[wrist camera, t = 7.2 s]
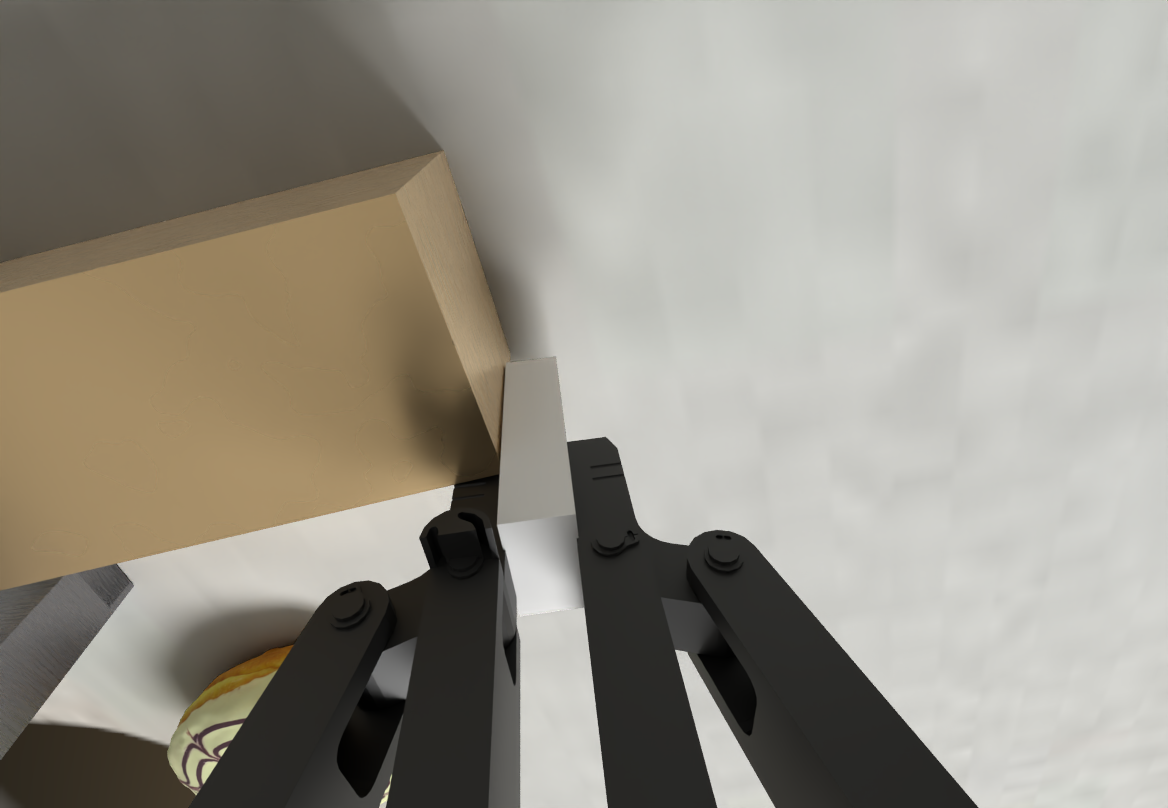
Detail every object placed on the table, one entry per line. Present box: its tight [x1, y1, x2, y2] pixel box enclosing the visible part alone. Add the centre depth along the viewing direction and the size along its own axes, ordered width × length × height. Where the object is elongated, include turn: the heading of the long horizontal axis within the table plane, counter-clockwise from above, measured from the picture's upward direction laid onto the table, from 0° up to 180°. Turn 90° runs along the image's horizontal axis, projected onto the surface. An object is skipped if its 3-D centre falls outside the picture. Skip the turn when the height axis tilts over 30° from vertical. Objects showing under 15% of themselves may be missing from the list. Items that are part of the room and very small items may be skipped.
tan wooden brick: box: [0, 150, 510, 591], centre depth 13 cm, size 20×6×6 cm, turn 102°
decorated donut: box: [167, 645, 392, 804], centre depth 24 cm, size 10×11×4 cm
